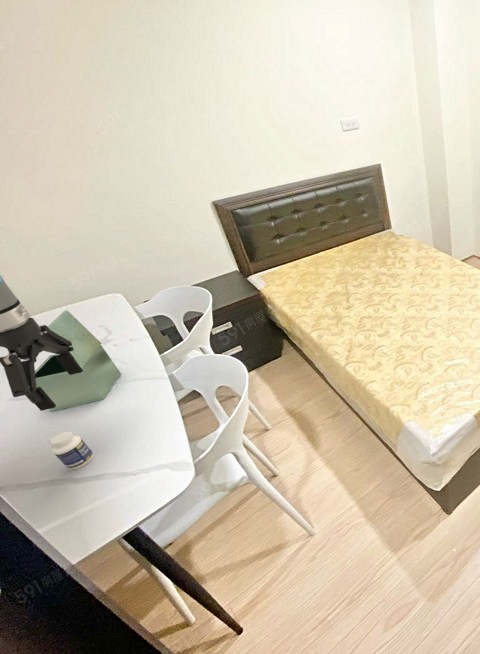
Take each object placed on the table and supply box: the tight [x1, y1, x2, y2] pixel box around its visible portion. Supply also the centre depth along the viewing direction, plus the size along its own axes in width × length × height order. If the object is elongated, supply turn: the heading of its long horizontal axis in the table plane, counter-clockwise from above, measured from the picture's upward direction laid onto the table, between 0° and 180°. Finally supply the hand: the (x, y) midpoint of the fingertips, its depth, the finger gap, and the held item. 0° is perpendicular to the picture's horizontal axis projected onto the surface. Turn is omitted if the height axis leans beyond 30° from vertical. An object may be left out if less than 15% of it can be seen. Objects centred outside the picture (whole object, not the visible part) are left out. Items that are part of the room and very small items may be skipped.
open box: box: [29, 344, 122, 413], centre depth 127 cm, size 14×13×13 cm
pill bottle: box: [49, 430, 94, 471], centre depth 105 cm, size 5×5×10 cm
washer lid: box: [47, 309, 102, 368], centre depth 122 cm, size 14×13×1 cm
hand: (63, 389), depth 104 cm, fingers open, 13 cm apart
